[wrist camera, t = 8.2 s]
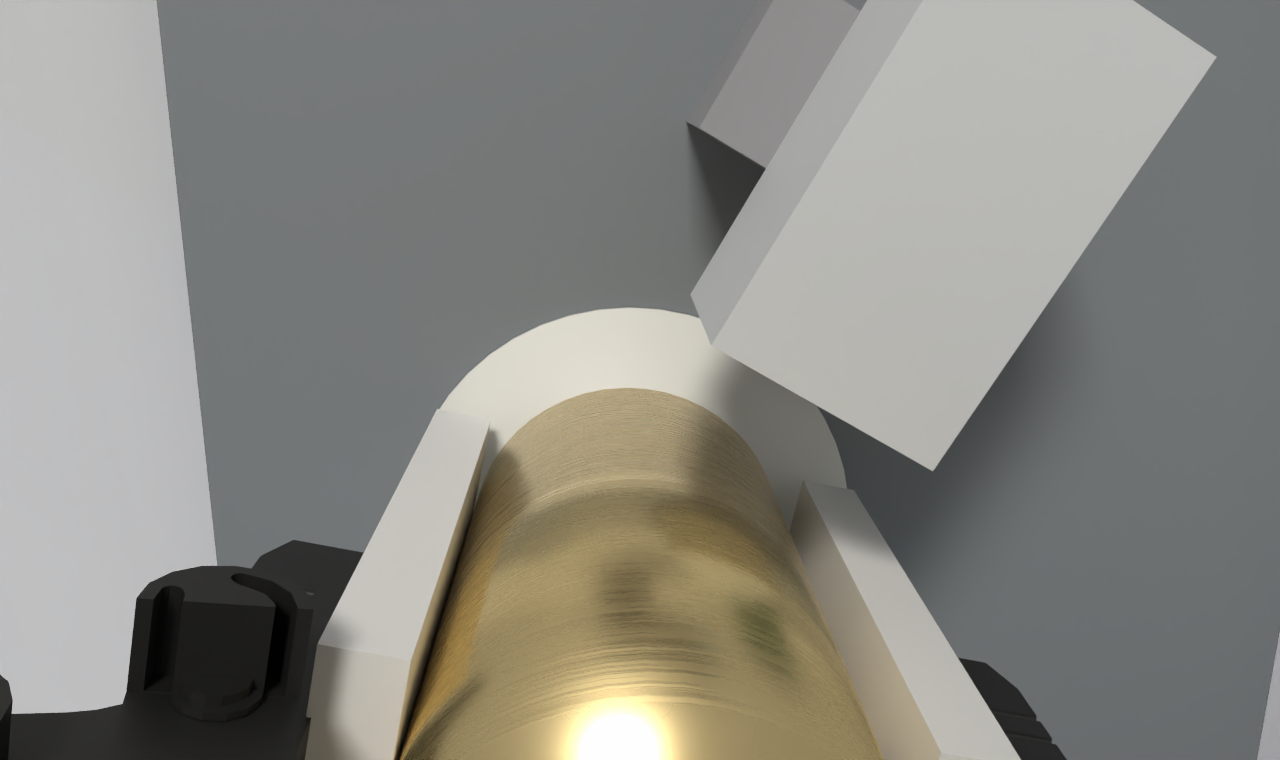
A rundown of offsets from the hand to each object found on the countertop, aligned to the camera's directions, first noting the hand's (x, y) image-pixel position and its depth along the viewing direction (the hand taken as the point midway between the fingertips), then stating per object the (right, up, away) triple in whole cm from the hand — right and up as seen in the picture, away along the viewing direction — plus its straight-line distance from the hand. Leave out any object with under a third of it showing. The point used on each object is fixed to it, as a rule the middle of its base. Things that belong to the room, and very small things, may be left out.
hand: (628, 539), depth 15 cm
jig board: (+2, +1, +1) cm, 2 cm away
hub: (0, 0, 0) cm, 0 cm away
